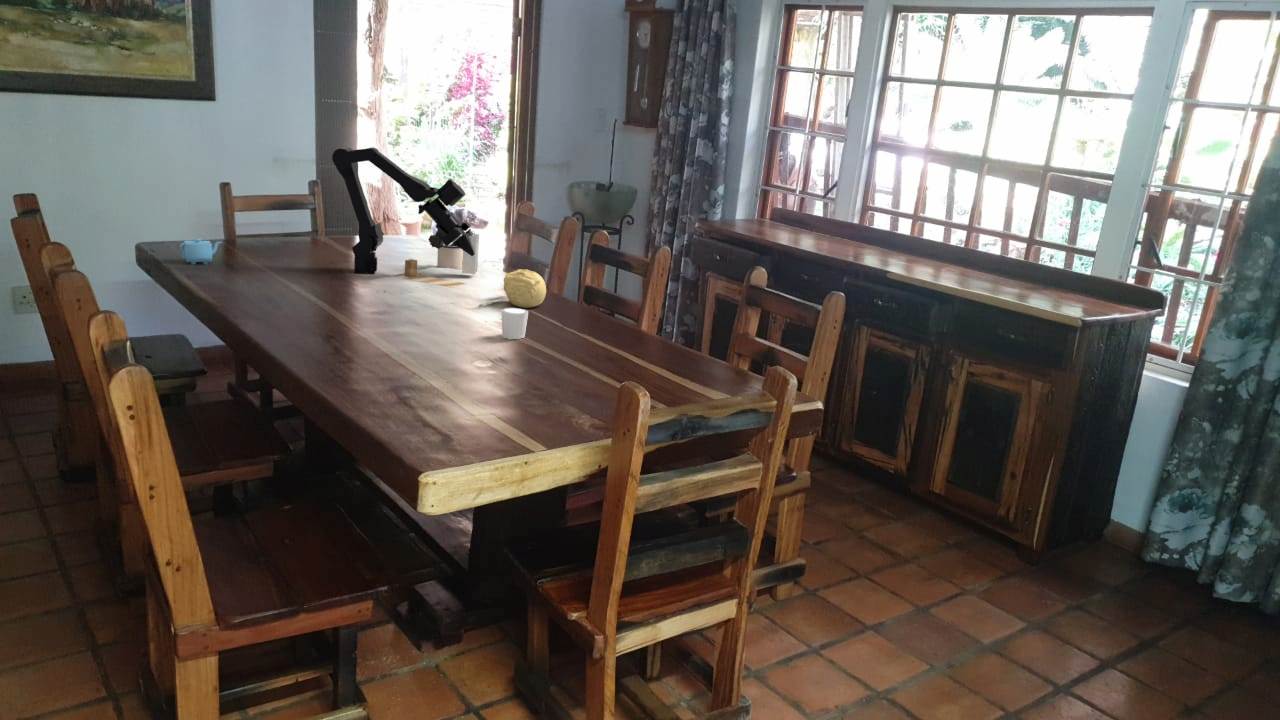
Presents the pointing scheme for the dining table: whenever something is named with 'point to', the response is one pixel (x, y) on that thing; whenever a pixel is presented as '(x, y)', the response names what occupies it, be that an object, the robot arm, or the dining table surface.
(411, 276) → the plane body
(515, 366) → the dining table surface
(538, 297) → the yellow lumpy ball
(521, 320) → the shot glass
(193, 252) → the teapot
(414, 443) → the dining table surface
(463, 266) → the tall grey block
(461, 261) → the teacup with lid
